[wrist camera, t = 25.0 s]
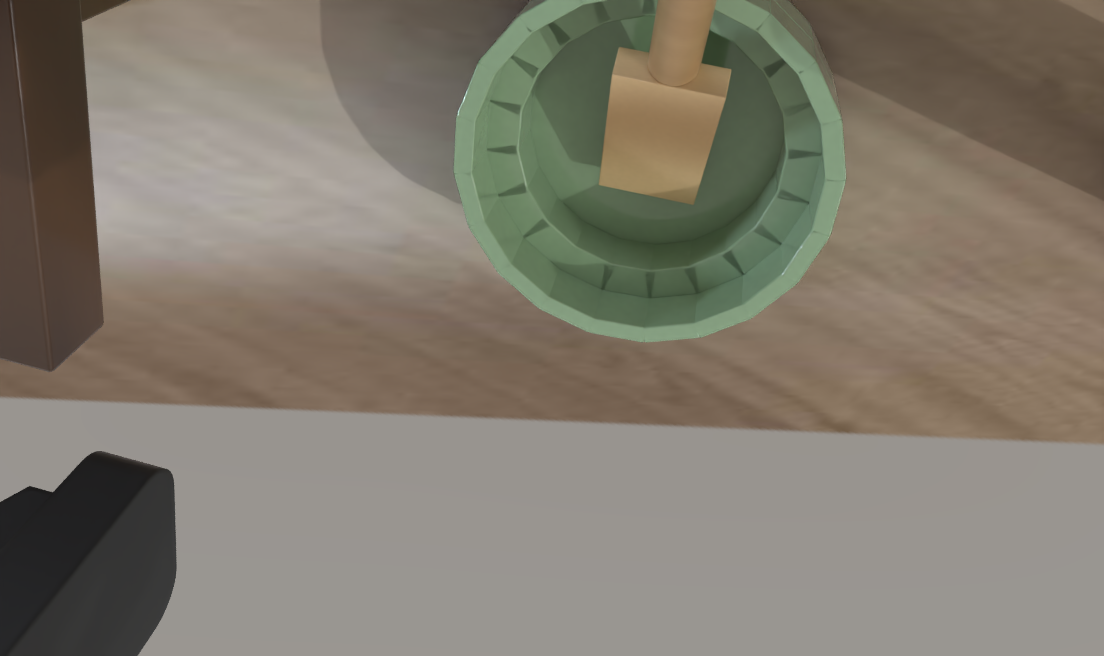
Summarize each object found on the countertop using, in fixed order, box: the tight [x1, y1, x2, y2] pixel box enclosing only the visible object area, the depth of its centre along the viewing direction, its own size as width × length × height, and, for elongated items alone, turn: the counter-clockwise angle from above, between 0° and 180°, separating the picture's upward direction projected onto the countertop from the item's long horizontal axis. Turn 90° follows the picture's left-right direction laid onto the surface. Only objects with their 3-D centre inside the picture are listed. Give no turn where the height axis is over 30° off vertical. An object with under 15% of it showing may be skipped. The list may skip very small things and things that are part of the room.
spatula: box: [599, 0, 731, 205], centre depth 35 cm, size 22×4×2 cm
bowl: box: [453, 0, 846, 342], centre depth 42 cm, size 16×16×6 cm
